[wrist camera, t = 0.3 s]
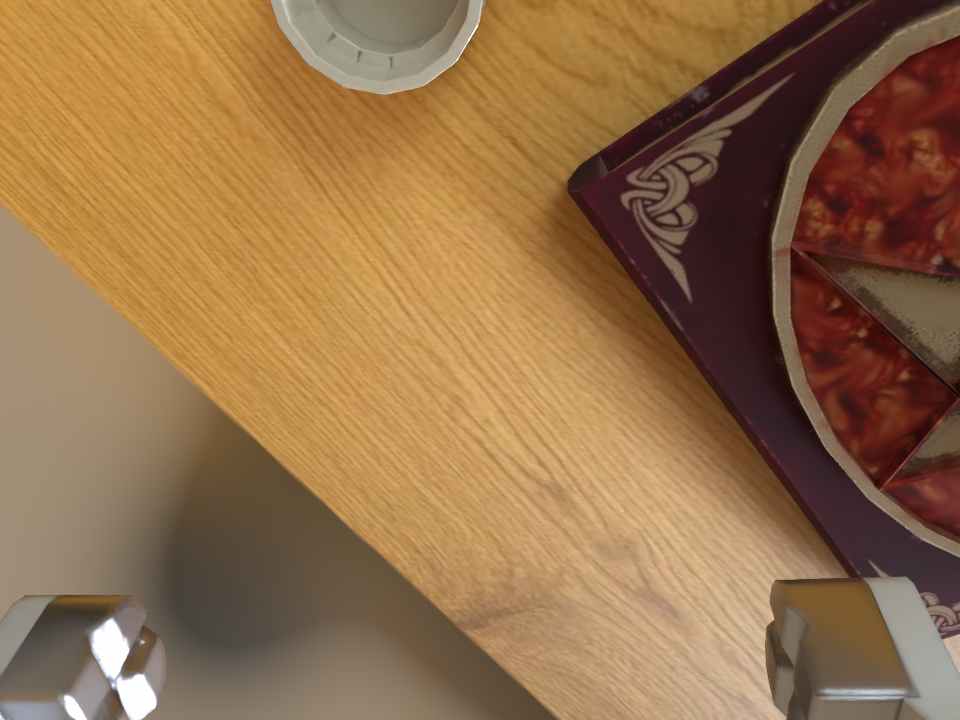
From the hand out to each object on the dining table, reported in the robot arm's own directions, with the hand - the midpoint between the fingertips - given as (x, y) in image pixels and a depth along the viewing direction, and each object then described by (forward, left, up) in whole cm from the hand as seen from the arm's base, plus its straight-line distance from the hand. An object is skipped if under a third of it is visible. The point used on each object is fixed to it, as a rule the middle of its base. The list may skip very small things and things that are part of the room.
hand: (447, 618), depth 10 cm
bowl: (-6, 0, -23) cm, 23 cm away
